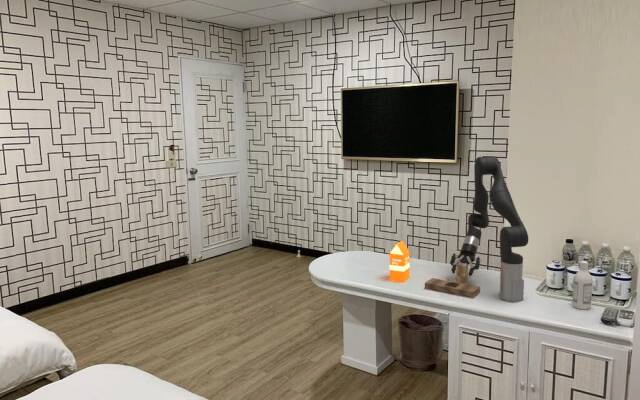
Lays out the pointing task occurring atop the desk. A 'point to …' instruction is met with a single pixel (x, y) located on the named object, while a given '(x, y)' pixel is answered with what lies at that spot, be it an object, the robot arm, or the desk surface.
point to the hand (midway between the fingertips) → (461, 274)
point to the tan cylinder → (462, 273)
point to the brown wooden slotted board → (452, 288)
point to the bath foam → (582, 287)
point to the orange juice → (399, 263)
